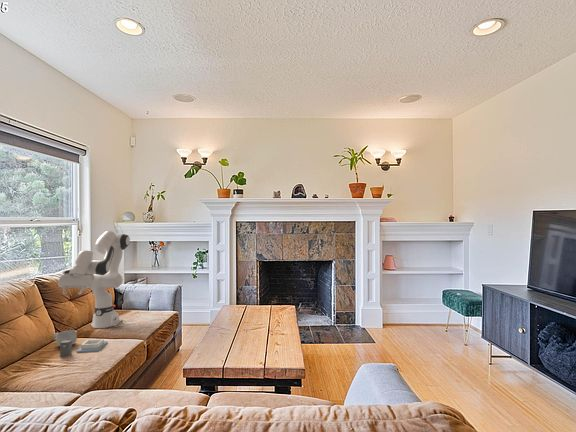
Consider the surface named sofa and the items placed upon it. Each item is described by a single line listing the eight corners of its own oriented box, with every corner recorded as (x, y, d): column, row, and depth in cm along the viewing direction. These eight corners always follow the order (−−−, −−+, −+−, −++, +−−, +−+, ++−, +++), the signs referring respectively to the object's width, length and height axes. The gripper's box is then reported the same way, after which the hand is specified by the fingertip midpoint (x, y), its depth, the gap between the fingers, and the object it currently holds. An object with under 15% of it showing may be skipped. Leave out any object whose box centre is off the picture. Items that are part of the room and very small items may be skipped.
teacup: (80, 343, 208) (81, 330, 209) (65, 349, 198) (65, 336, 198) (63, 341, 212) (64, 328, 212) (47, 347, 202) (47, 334, 202)
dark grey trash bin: (63, 354, 191) (63, 340, 191) (71, 353, 192) (71, 340, 192) (59, 356, 188) (60, 342, 188) (68, 356, 188) (68, 342, 189)
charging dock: (87, 344, 207) (87, 338, 207) (107, 342, 209) (107, 337, 209) (76, 352, 194) (76, 346, 194) (98, 351, 196) (98, 345, 196)
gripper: (97, 275, 216) (90, 295, 209) (65, 274, 215) (58, 295, 208) (93, 271, 211) (86, 292, 203) (60, 271, 210) (52, 292, 203)
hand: (71, 294), depth 206 cm, fingers open, 8 cm apart
